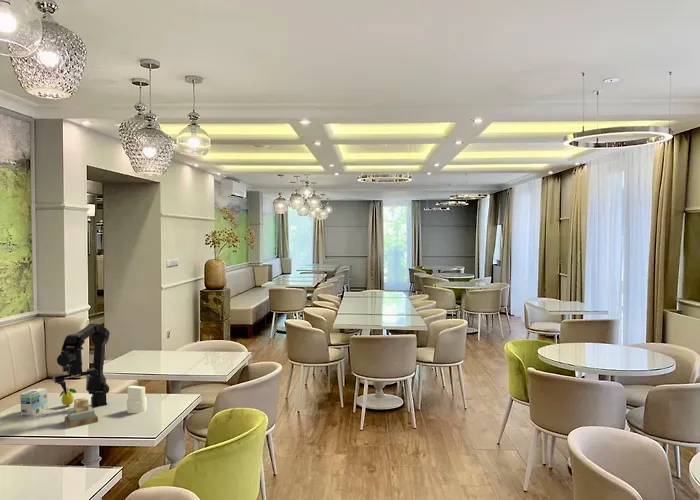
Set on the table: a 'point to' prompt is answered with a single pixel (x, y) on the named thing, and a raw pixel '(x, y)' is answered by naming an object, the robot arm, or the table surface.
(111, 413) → the table surface
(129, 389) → the cylinder with rectangular tab
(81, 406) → the oak cube
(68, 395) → the lemon
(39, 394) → the light bulb box
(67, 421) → the walnut slab
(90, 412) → the slate slab
